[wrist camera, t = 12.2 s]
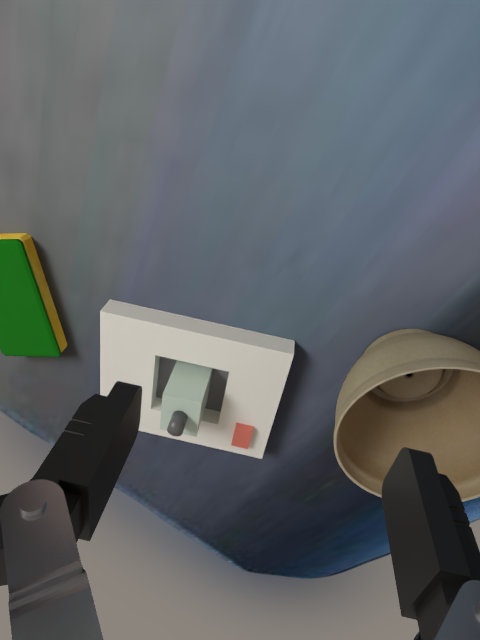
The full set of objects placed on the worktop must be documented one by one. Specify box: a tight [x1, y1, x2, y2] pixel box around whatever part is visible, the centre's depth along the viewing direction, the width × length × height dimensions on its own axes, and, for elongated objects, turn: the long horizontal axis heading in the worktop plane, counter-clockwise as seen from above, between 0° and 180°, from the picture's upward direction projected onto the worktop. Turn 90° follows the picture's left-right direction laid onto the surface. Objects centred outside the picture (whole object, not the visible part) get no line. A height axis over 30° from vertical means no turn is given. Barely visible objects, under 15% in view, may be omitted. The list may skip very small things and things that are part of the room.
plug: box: [160, 360, 212, 437], centre depth 45 cm, size 4×5×8 cm
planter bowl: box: [334, 329, 480, 502], centre depth 40 cm, size 16×16×11 cm
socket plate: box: [100, 299, 295, 459], centre depth 48 cm, size 20×16×3 cm
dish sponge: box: [0, 233, 68, 357], centre depth 46 cm, size 7×14×2 cm, turn 4°
